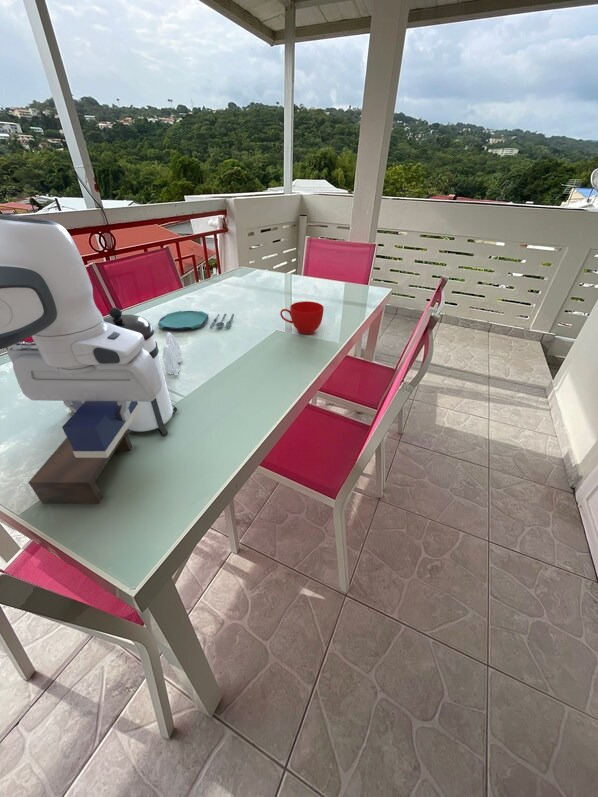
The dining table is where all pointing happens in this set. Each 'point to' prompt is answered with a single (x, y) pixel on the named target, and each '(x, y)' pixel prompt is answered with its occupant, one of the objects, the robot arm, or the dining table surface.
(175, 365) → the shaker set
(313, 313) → the ceramic cup
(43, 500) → the shelf
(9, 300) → the robot arm
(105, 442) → the navy block white base
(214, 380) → the dining table surface
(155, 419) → the coffee press
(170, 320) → the cutlery set
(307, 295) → the dining table surface
